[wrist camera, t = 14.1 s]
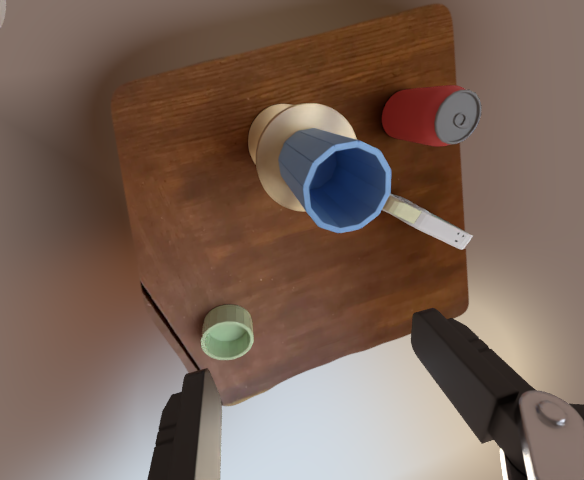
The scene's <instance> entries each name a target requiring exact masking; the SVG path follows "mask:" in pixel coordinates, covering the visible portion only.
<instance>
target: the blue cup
mask: <svg viewBox="0 0 584 480" xmlns="http://www.w3.org/2000/svg"><path fill="white" fill-rule="evenodd" d="M278 161H279V168H280V174H281V176H282V178H283V179H284V181H285V182H286V184H287V185H288V186H289V188H290V189H291V191H292V192H293V194H294V195H295V196H296V198H297V199H298V201H299V202H300V204H301V205H302V206H303V208H304V209H305V211H306V212H307V213H308V214H309V216H310V217H311V218H312V219H313V221H314V222H315V223H316V224H317V225H318V226H319V227H320V228H324V229H327V230H330V231H333V232H336V233H343V232H348V231H353V230H357V229H360V228H362V227H364V226H365V225H366V224H368V223H369V222H370V221H372V220H373V219H374V218H375V217H377V216H378V215H379V214H380V212H381V210H382V208H383V207H384V205H385V203H386V201H387V199H388V197H389V195H390V193H391V168H390V167H389V165H388V163H387V161H386V160H385V158H384V156H383V154H382V152H381V151H380V150H379V149H377V148H375V147H373V146H370V145H368V144H366V143H364V142H362V141H359V140H356V139H352V138H349V137H345V136H341V135H338V134H334V133H330V132H327V131H323V130H319V129H316V128H311V129H305V130H299V131H297V132H296V133H294V134H293V135H292V136H291V137H290V138H289V139H287V140H286V141H285V143H284V144H283V147H282V150H281V152H280V155H279V159H278Z"/></svg>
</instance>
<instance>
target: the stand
mask: <svg viewBox="0 0 584 480" xmlns="http://www.w3.org/2000/svg"><path fill="white" fill-rule="evenodd" d="M311 128H316V129H319V130H323V131H327V132H330V133H334V134H338V135H341V136H345V137H349V138H352V139H356V136H355V133H354V131H353V129H352V127H351V125H350V124H349V122H348V121H347V120H346V119H345V118H344V117H343V116H342V115H341V114H340V113H339V112H337V111H336V110H334V109H332V108H330V107H328V106H325V105H322V104H317V103H303V104H297V105H290V104H277V105H273V106H270V107H268V108H266V109H264V110H263V111H262V112H260V113H259V115H258V116H257V117H256V118H255V119H254V121H253V123H252V125H251V127H250V130H249V134H248V148H249V152H250V155H251V158H252V160H253V161H254V163H255V164H256V169H257V173H258V176H259V179H260V181H261V184H262V186H263V187H264V189H265V191H266V192H267V193H268V195H269V196H270V197H271V198H272V199H273V200H274V201H276V202H277V203H278V204H280V205H282V206H284V207H286V208H288V209H292V210H296V211H305V209H304V208H303V206H302V205H301V204H300V202H299V201H298V199H297V198H296V196H295V195H294V194H293V192H292V191H291V189H290V188H289V186H288V185H287V184H286V182H285V181H284V179H283V178H282V176H281V174H280V168H279V161H278V159H279V155H280V152H281V150H282V147H283V144H284V143H285V141H286V140H287V139H289V138H290V137H291V136H292V135H293V134H294V133H296V132H297V131H299V130H305V129H311ZM356 140H357V139H356Z"/></svg>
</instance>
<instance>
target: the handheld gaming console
mask: <svg viewBox="0 0 584 480" xmlns="http://www.w3.org/2000/svg"><path fill="white" fill-rule="evenodd" d="M382 210H383V211H385V212H387V213H389V214H391V215H393V216H395V217H396V218H398V219H400V220H402V221H403V222H405V223H407V224H409V225H410V226H412V227H414V228H416V229H418V230H420V231H422V232H424V233H426V234H429V235H431V236H433V237H435V238H437V239H439V240H441V241H444V242H446V243H448V244H450V245H452V246H454V247H456V248H458V249H464V248H465V246H466V245H467V244H468V242H469V241H470V240H471V238H472V237H473V236H472V235H471V234H469V233H467V232H465V231H463V230H462V229H460V228H458V227H456V226H454V225H452V224H451V223H449V222H447V221H445V220H443V219H442V218H440V217H438V216H436V215H433V214H431V213H429V212H428V211H427V210H425V209H423V208H421V207H419V206H417V205H415V204H413V203H412V202H410V201H408V200H407V199H405V198H402V197H400V196H397V195H393V194H390V195H389V197H388V199H387V201H386V203H385V205H384V207H383V208H382Z"/></svg>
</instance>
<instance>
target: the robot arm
mask: <svg viewBox="0 0 584 480" xmlns="http://www.w3.org/2000/svg"><path fill="white" fill-rule="evenodd" d="M411 344H412V347H413V350H414V352H415V354H416V355H417V357H418V358H419V360H420V361H421V362H422V364H423V365H424V366H425V368H426V369H427V370H428V372H429V373H430V374H431V376H432V377H433V379H434V380H435V381H436V383H437V384H438V385H439V387H440V388H441V389H442V391H443V392H444V393H445V395H446V396H447V397H448V399H449V400H450V401H451V403H452V404H453V405H454V407H455V408H456V409H457V411H458V412H459V413H460V415H461V416H462V417H463V419H464V420H465V422H466V423H467V424H468V426H469V427H470V428H471V430H472V431H473V432H474V434H475V435H476V436H477V438H478V439H479V440H480V442H481V443H485V442H488V441H491V440H495V442H496V443H497V444H498V445H499V447H500V458H501V465H502V473H503V479H504V480H584V405H580V404H568V403H567V402H565V401H564V400H562V399H560V398H558V397H556V396H554V395H552V394H550V393H546V392H542V391H537V390H535V389H534V388H533V387H531V386H530V385H529V384H528V383H527V382H526V381H525V380H524V379H522V377H520V376H519V375H518V374H517V373H516V372H515V371H514V370H513V369H512V368H511V367H510V366H509V365H508V364H506V362H504V361H503V360H502V359H501V358H500V357H499V356H498V355H497V354H496V353H495V352H494V351H493V350H492V349H489V348H488V346H487V345H486V344H485V343H484V342H483V341H482V340H481V339H479V338H478V336H476V335H475V333H473V332H472V331H471V330H470V329H469V328H468V327H467V326H465V325H463V324H462V323H460V322H458V321H456V320H454V319H453V318H449V319H446V318H445V317H444V316H443V315H442V314H441V313H440V312H439V311H438V310H436V309H434V308H431V309H427V310H423V311H419V312H416V313H414V314H413V319H412V333H411ZM221 424H222V406H221V399H220V395H219V392H218V390H217V387H216V385H215V383H214V381H213V378H212V376H211V374H210V371H209V370H208V369H207V368H206V369H203V370H199V371H195V372H191V373H188V374H186V375H185V377H184V381H183V387H182V392H180V393H176V394H173V395H171V397H170V399H169V401H168V402H167V404H166V406H165V408H164V409H163V411H162V416H161V420H160V426H159V432H158V434H157V439H156V447H155V448H154V452H153V457H152V462H151V466H150V471H149V475H148V480H220V464H221V463H220V462H221Z"/></svg>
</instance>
